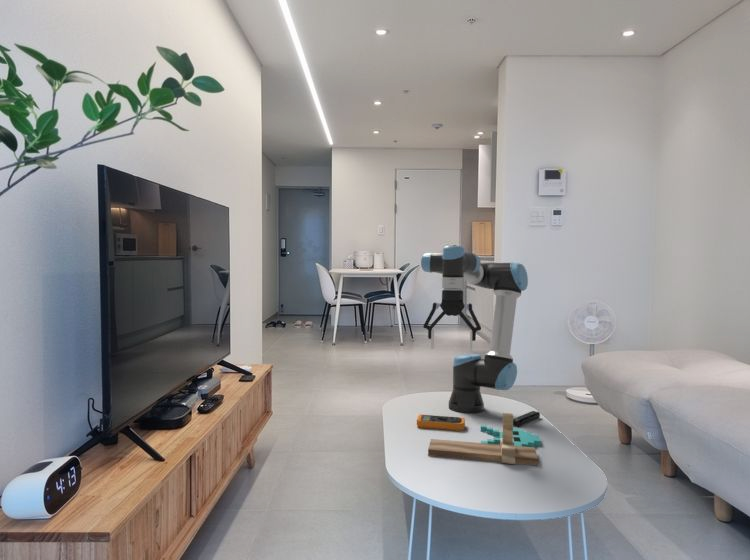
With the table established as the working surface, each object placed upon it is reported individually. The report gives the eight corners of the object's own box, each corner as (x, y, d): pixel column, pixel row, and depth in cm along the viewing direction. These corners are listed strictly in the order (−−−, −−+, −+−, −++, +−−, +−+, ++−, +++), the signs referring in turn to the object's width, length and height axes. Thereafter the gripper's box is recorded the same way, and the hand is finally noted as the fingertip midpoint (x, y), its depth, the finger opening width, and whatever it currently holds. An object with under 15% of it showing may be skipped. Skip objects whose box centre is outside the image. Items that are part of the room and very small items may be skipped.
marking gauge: (500, 451, 164) (501, 410, 164) (512, 452, 163) (513, 411, 163) (501, 462, 154) (502, 420, 154) (515, 464, 153) (516, 421, 153)
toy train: (534, 417, 205) (534, 409, 205) (540, 418, 203) (540, 411, 203) (512, 426, 192) (512, 418, 192) (518, 428, 190) (518, 420, 190)
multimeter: (464, 432, 184) (464, 423, 184) (416, 428, 188) (416, 419, 188) (465, 425, 193) (465, 416, 193) (418, 421, 196) (418, 413, 196)
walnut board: (430, 444, 170) (430, 438, 170) (534, 453, 163) (534, 447, 163) (428, 455, 160) (428, 449, 160) (538, 465, 153) (538, 458, 153)
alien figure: (480, 449, 168) (542, 454, 164) (481, 442, 168) (543, 448, 164) (480, 430, 187) (535, 434, 183) (480, 424, 187) (535, 428, 183)
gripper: (416, 289, 175) (415, 349, 176) (488, 290, 170) (487, 352, 171) (418, 288, 182) (417, 345, 183) (488, 289, 177) (487, 349, 178)
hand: (451, 349), depth 177 cm, fingers open, 13 cm apart
